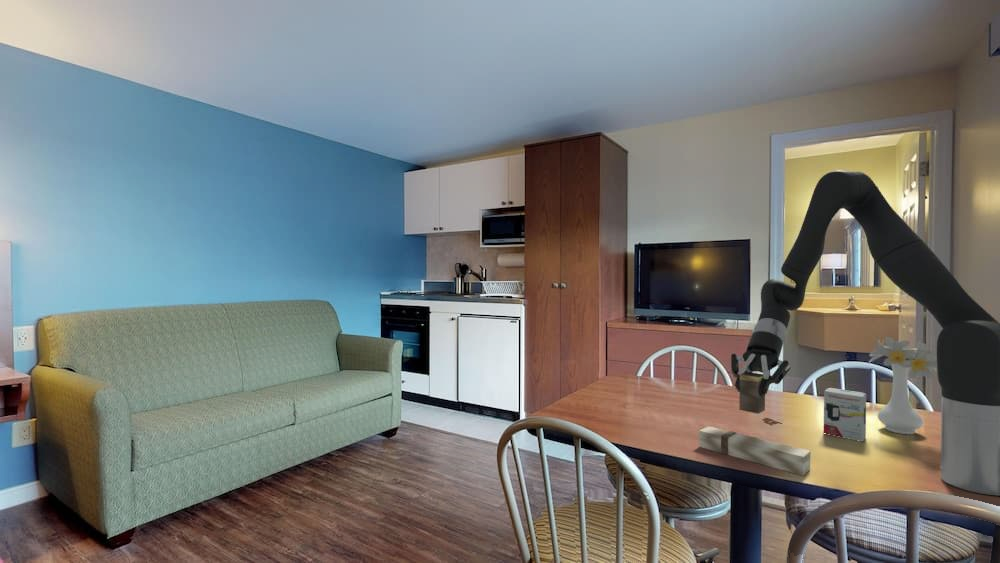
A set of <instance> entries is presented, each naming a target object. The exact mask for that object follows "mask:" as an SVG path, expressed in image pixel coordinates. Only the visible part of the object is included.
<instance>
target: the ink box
mask: <svg viewBox="0 0 1000 563" xmlns="http://www.w3.org/2000/svg"><path fill="white" fill-rule="evenodd" d="M866 425H867V394H866V393H865V392H862V391H853V390H850V389H849V390H847V389H840V388H834V387H828V388H826V389H825V390H824V392H823V432H822V433H826V434H830V435H829V436H831V435H835V436H840V437H845V438H849V439H848V440H850V439H854V440H853V441H855V440H859V441H858V442H860V441H863V442H864V441H865V440H864V439H866V438H865V437H866V434H867V433H866V431H867V428H866V427H867V426H866ZM826 434H825V435H826ZM835 436H834V437H835ZM840 437H839V438H840ZM845 438H844V439H845Z"/></svg>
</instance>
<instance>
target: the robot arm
mask: <svg viewBox="0 0 1000 563" xmlns="http://www.w3.org/2000/svg"><path fill="white" fill-rule="evenodd" d="M810 198H811V199H810V201H809V204H808V207H807V211H806V213H805V216H804V218H803V222H802V224H801V227H800V230H799V233H798V235H797V237H796V240H795V242H794V244H793V245H792V246H791V249H790V251H789V253H788V255H787V257H786V258H785V260H784V262H783V264H782V265H781V268H780V272H781V273H782V275H784V276H785V277H786V278H787V279H788V280H791V281H793V282H794V284H790V283H788V282H786V281H783V280H779V279H776V278H770V279H768V280H767V281H765V282H764V283H763V285H762V286H761V289H760V290H761V291H760V303H761V306H760V307H761V309H760V314H759V316H758V320H757V321H756V324H755V326H754V328H753V331H752V333H751V336H750V338H749V342H748V344H747V347H746V350H745V352H744V353H743V354H742V355H737V353H732V354H730V357H731V358H730V359H731V360H730V361H731V362H730V363H731V364H730V365H731V366H730V368H731V369H730V370H731V373H732V375H733V377H734V378H736V380H735V383H734V387H735V390H737V392H738V393H740V374H742V373H745V372H751V373H756V372H758V373H760V374H763V379H762V381H761V383H760V386H759V389H758V393H759V395H760V396H763V395H764V394H765V396H766V395H767V393H768V391H769V387H770V385H771V384H775V385H779V384H780V383H781V382H782V380H783V379H784V378H785V377H786V375H787V374H788V372H789V371H790V370H791V366H790V363H789V361H788V360H780V359H779V358H780V356H781V353H782V349H783V346H784V343H785V341H786V340H785V339H786V336H787V329H788V326H789V324H790V320H791V313H790V311H791V312H792V311H793V312H794V311H796V310H798V309H799V308H801V307H802V305H803V303H804V300H805V296H806V295H805V294H806V290H807V284H808V283H809V280H810V278H811V276H812V273H813V272H814V271H815V268H816V267H817V265H818V264H819V262H820V259H821V258H822V256H823V252H824V250H825V242H826V235H827V230H828V228H829V226H830V224H831V222H832V220H833V219H834V218H835V216H836V214H838V212H839V211H840V209H841V210H843V209H844V210H845V211H847V212H848V213H849V214H850V215H851V216H852V217H853V218H854V219H855V220H856V222H858V224H859V225H860V226H861V228H862V230H863V233H864V234H865V237H866V242H867V246H868V250H869V252H870V255H871V257H872V259H873V261H874V262H875V263H876V264H877V266H878V267H879V268H880V270H881V271H882V272H883V273H884V275H886V277H887V278H888V279H889V280H890V281H891V282H892V283H893V284H894V285H895V286H896V287H898V288H899V289H900V290H902V291H903V292H904V293H905V294H907V295H908V296H909V297H911V298H912V299H914V300H915V301H916V302H917V303H918V304H920V305H922V306H923V307H924V309H926V310H927V311H928V312H929V313H930V314H931V315H932V316H933V317H934V319H935V320H936V322H937V323H938V324H939V325H940V327H941V328H942V329H941V330H940V332H939V334H938V336H937V339H936V340H937V341H936V360H937V366H936V369H937V371H936V372H937V380H938V383H939V385H940V389H941V408H940V409H941V422H940V425H941V426H940V427H941V430H940V435H941V436H940V479H941V480H942V481H943V482H944V483H946V484H949V485H951V486H953V487H955V488H958V489H961V490H965V491H968V492H972V493H977V494H983V495H989V496H1000V322H999V321H998V320H997V319H995V318H994V317H993V316H992V315H991V314H990V313H988V312H987V310H986V309H984V308H983V307H982V305H980V304H979V303H977V302H976V301H975V299H974V298H972V297H971V295H970V294H968V292H966V290H965V289H964V288H963V287H962V286H961V284H960V282H958V280H957V278H955V277H954V275H953V273H951V271H950V270H949V269H948V268H947V267H946V266H945V265H944V263H943V262H942V261H941V260H940V258H939V257H938V256H937V255H936V254H935V253H934V252H933V250H932V249H931V248H930V247H929V246H928V245H927V243H926V242H924V240H923V239H922V238H921V237H920V236H919V235H918V234H917V233H916V232H914V230H913V228H911V227H910V226H909V225H908V224H907V222H906V221H905V220H904V219H903V218H902V217H901V216H900V215H899V214H898V213H897V212H896V211H895V210H894V209H893V207H892V205H890V203H889V202H888V201H887V199H886V198H885V197H884V195H883V193H882V192H881V190H880V188H878V186H877V185H876V184H875V182H874V180H873V179H872V178H871V176H869V175H867V174H866V173H864V172H862V171H857V170H842V169H841V170H839V169H838V170H833V171H829V172H827V173H826V174H824V175H822V176H821V177H820V178H819V180H818V182H817V183H816V185H815V187H814V190H813V192H812V195H811V197H810ZM742 361H744V363H743V364H742V366H741V369H740V368H739V366H740V365H741V363H742ZM775 367H777V368H776V370H775V371H774V373H772V375H771V370H772V369H774V368H775Z"/></svg>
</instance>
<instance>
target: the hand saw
mask: <svg viewBox="0 0 1000 563" xmlns="http://www.w3.org/2000/svg"><path fill="white" fill-rule="evenodd" d="M761 420H762V421H763V423H765V424H768V425H769V426H774V425H778V424H779V423H780V425H783V422H781V421H780V422H779V421H777V420H774V419H772V418H769V417H764V418H762V419H761Z"/></svg>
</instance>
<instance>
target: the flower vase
mask: <svg viewBox="0 0 1000 563" xmlns="http://www.w3.org/2000/svg"><path fill="white" fill-rule="evenodd" d="M885 342H886V345H885V344H884V343H885ZM885 342H884V339H882V340H881V341H880V339H878V340H877V342H876V349H874V350H872V351H871V352H870V353H869V357H871V358H870V360H869V361H868V364H870V363H871V362H873V361H876V360H877V359H879V358H881V357H883V356H884V357H887V358H885V359H884V360H883V365H884V366H887V367H889V366H890V367H891V369H892V374H893V375H892V391H891V392H892V393H891V397H890V399H889V401H888V403H887V404H886V405H884V406H883V407H882V408H880V409H879V411H878V413H877V419H878V420H879V421H880V423H882V424H883V425H884V428H885V430H886V431H888V432H891V433H892V432H893V433H895V434H902V435H914V434H916V430H919V429H921V428H922V426H923V425H924V420H923V417H922V416H921V414H920V413H919V412H917V410H916V409H914V407H913V405H912V403H911V402H910V401H911V400H910V398H909V390H908V388H909V387H908V386H909V385H908V379H911V380H912V379H915V378H916V377H917V376H918V375H919V373H920V374H921V375H922V376H923V377H925V378H927V379H929V380H930V379H933V377H934V373H933V372H932V370H934V371H935V372H937V356H935V355H933V354H932V350H931V349H930V348H927V345H926V343H924V342H923V343H922V342H921V341H918V342H917V345H916V348H908V347H909V346H910V343H911V342H910V340H907V339H906V340H902V341H895V340H894V339H893V338H891V337H889V336H886V337H885ZM907 348H908V349H907ZM930 368H931V369H932V370H931V369H930Z"/></svg>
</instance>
